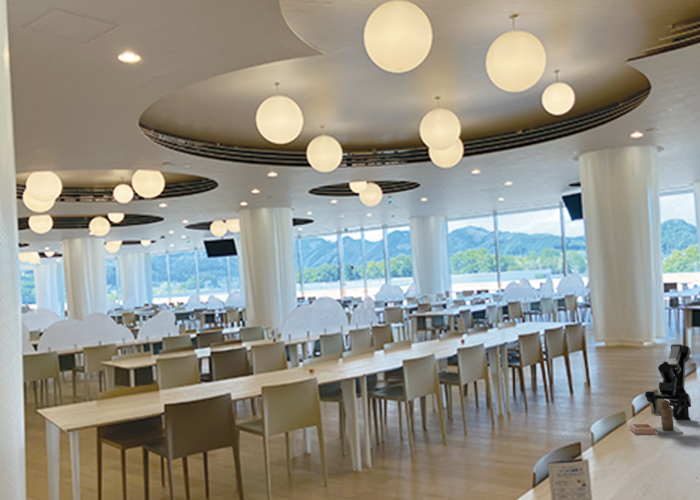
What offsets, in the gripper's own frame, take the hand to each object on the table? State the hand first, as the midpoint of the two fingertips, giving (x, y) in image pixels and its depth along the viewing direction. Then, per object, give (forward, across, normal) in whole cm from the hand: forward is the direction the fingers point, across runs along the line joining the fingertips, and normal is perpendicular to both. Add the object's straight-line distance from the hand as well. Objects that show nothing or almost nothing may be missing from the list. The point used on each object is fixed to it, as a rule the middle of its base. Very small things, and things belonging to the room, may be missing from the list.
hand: (665, 412), depth 281 cm
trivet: (+6, 0, +7) cm, 9 cm away
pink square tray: (+9, -10, +4) cm, 14 cm away
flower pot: (-23, -14, +36) cm, 45 cm away
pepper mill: (+5, 0, +6) cm, 8 cm away
